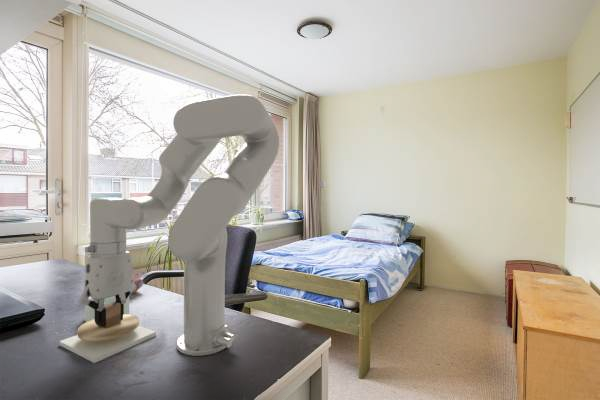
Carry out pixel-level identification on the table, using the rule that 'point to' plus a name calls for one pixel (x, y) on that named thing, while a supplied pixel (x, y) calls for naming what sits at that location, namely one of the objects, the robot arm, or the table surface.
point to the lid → (109, 325)
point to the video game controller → (137, 284)
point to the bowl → (91, 313)
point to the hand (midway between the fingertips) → (109, 321)
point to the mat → (106, 344)
